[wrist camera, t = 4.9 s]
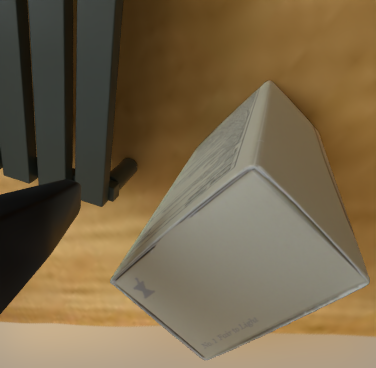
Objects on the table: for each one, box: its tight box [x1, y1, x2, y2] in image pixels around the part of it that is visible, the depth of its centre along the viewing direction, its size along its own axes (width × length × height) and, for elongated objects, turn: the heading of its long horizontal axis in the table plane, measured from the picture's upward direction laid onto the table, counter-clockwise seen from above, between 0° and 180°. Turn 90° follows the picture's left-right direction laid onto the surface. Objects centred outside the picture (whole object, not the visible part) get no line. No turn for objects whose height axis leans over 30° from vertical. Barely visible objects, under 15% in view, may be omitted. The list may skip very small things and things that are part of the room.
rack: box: [0, 0, 137, 207], centre depth 16 cm, size 12×16×7 cm
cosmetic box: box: [110, 80, 370, 360], centre depth 14 cm, size 6×4×12 cm
